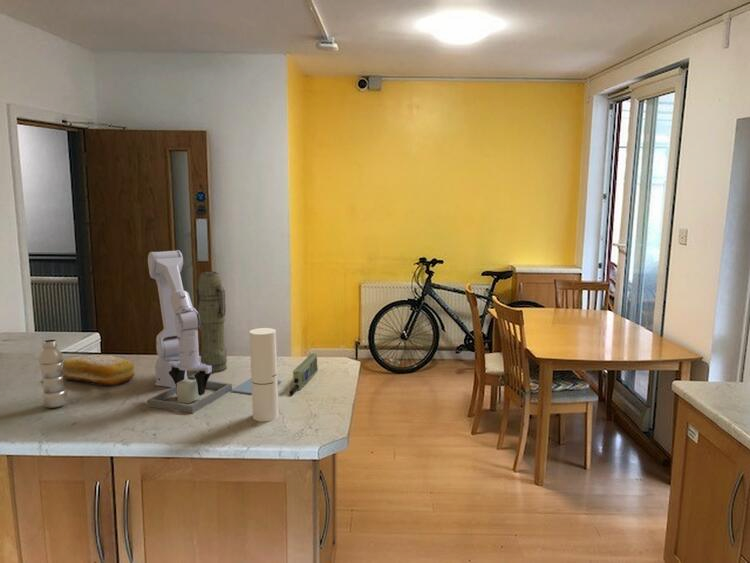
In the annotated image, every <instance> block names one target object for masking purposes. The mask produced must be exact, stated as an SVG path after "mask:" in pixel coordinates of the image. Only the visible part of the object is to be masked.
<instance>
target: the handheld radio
mask: <svg viewBox="0 0 750 563" xmlns="http://www.w3.org/2000/svg"><path fill="white" fill-rule="evenodd" d="M318 367H319V366H318V354H317V353H310V354H309V355H308V356H307V357H306V358H305V359H304V360H303V361H302V362H301V363H300V364H298V365H297V367H296V368H295V369H293V370H292V376H293V377H292V378H293V387H292V389H290V390H289V392H288V394H289V395H291V396H292V395H294V393H296V391H301V390H302V389H303V388H304V387H305V386H306V384H308V383H309V381H310V380H311V379H312V378H313V377H314V376H315V375H316V374H317V373H318V372H319V370H318V369H319V368H318ZM315 373H316V374H315Z"/></svg>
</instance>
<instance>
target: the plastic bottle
mask: <svg viewBox="0 0 750 563" xmlns="http://www.w3.org/2000/svg"><path fill="white" fill-rule="evenodd" d="M41 343H42V349H43V350H42V352H41V353H40V355H39V357H38V363H39V367H40V370H41V375H42V385H43V386H42V391H43V392H42V403H43V405H44V406H45V407H46V408H49V409H52V408H58V407H62V406H64V405H65V404H67V403H66V402H67V401H68V393H67V389H66V386H65V382H64V375H63V362H64V355H63V353H62V352H61V351H60V350H59V349H58V348H57V347H58V344H57V339H46V340H43V341H42V342H41Z"/></svg>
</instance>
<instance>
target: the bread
mask: <svg viewBox="0 0 750 563" xmlns="http://www.w3.org/2000/svg"><path fill="white" fill-rule="evenodd" d="M135 373H136V372H135V366H134V363H133V362H132V361H130V360H128V359H125V358H123V357H117V356H112V355H104V354H103V355H102V354H90V355H89V354H88V355H81V356H80V355H79V356H73V357H70V358H68V359H65V360H63V378H65V379H68V380H72V381H77V382H84V383H88V384H92V385H99V386H105V387H106V386H110V387H111V386H114V385H118V384H124V383H126V382H129V381H130V380H131V379H133V378H134V376H135Z"/></svg>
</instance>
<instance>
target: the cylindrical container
mask: <svg viewBox="0 0 750 563" xmlns="http://www.w3.org/2000/svg"><path fill="white" fill-rule="evenodd" d="M249 351H250V353H249V354H250V378H251V382H252V395H251V399H252V400H251V401H252V402H251V405H252V418H253V420H254V421H257V422H271V421H274V420H276V419H277V418H278V417H279V397H278V396H279V393H278V392H279V391H278V389H279V388H278V387H279V386H278V385H277V380H278V362H277V361H278V359H277V358H278V356H277V330H276V329H274V328H271V327H259V328H253V329H250V330H249Z"/></svg>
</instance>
